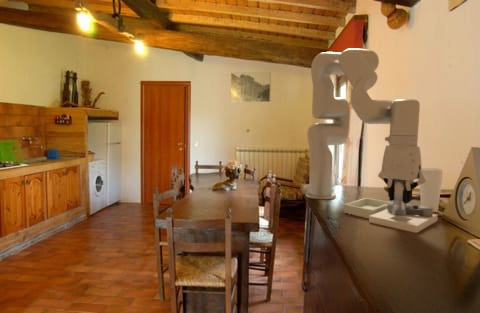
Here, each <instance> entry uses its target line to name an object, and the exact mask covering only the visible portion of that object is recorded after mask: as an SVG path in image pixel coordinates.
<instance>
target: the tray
mask: <svg viewBox="0 0 480 313" xmlns="http://www.w3.org/2000/svg"><path fill="white" fill-rule="evenodd" d="M389 202H390V201H388V200H387V201H386V200H381V199H375V198H368V197H363V198H361V199H357V200H354V201H351V202H347V203H344V204H343V214H346V213H348V214H347V215H351V214H352V215H351V216H356V217H361V218H365V219H369V216H370V215H373V214H375V213H378V212H381V211H383V210H386V209H387V207H388V203H389Z"/></svg>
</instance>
